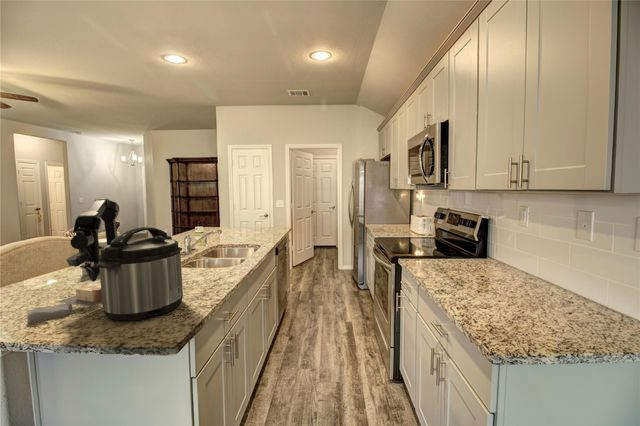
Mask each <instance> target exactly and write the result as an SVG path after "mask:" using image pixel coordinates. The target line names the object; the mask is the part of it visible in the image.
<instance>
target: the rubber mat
mask: <svg viewBox="0 0 640 426" xmlns="http://www.w3.org/2000/svg"><path fill="white" fill-rule="evenodd" d="M57 303H62V304H66V303H71V304H72V305H76V306H81V307H82V306H84V307H92V306H94V305H97V304H99V303H102V300H100V301H98V302H91V301H84V300H77V298H76V295H73V296H70V297H68V298H64V299H61V300H58V301H57Z"/></svg>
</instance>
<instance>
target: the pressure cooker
mask: <svg viewBox="0 0 640 426" xmlns="http://www.w3.org/2000/svg"><path fill="white" fill-rule="evenodd" d="M143 231H147V232H149V234H150V235H151V236H152V237H142V238H135V239H131V238H132V237H133V236H134V235H135V234H138V233H141V232H143ZM182 250H183V247H180V246H179V241H178V240H176V239H173V237H172V236H171V235H168V233H167V232H166V231H163V230H161V229H159V228H155V227H150V226H148V227H147V226H145V227H144V226H143V227H137V228H133V229H132V228H131V229H130V230H127V231H125V232H123V233H122V234H119V235H117V237H116V238H115V239H114V240H112V241H111V242H110V245H107V246H104V247H102V248H101V254H100V255H99V263H98V264H97V268H100V273H99V280H100V286H101V293H102V302H101V303H102V312H103V314H104V315H105V316H106V318H108V319H109V320H113V321H138V320H144V319H146V318H147V317H152V316H159V315H164V314H167V313H168V312H171V311H172V310H174V309H176V308H177V307H178V306H179V305H180V304H181V303H182V301H183V298H184V291H183V289H184V287H183V271H182V269H183V268H182Z"/></svg>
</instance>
